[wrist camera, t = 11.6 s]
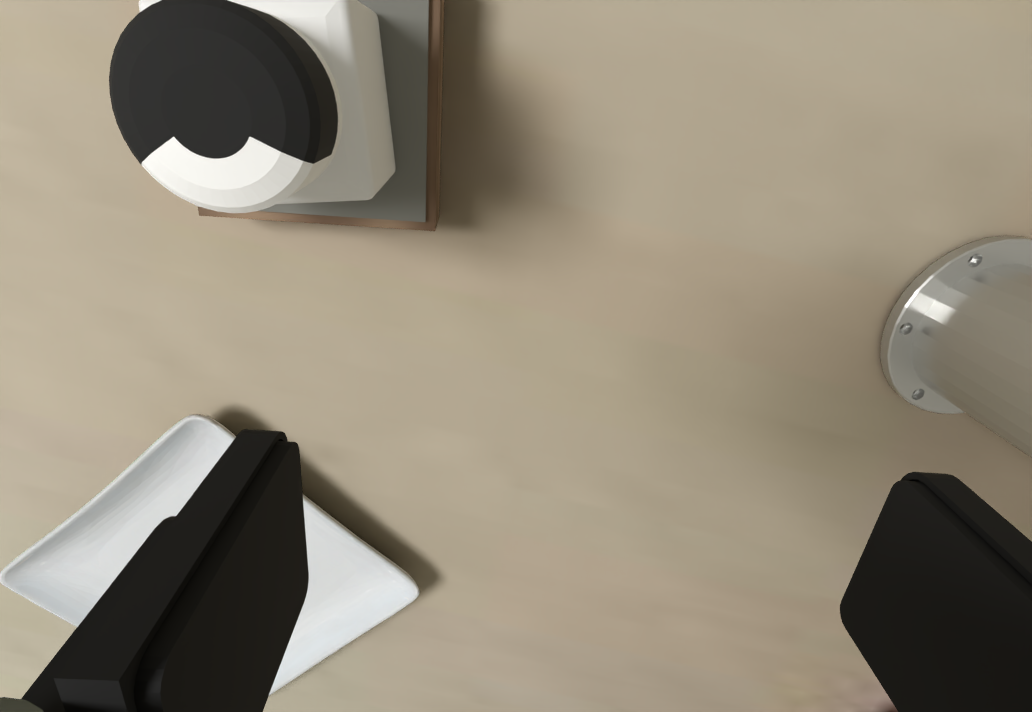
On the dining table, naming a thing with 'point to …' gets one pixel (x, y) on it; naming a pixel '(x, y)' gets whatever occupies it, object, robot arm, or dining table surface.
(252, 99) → the medicine bottle
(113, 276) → the dining table surface
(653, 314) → the dining table surface
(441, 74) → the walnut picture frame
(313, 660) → the salad plate
